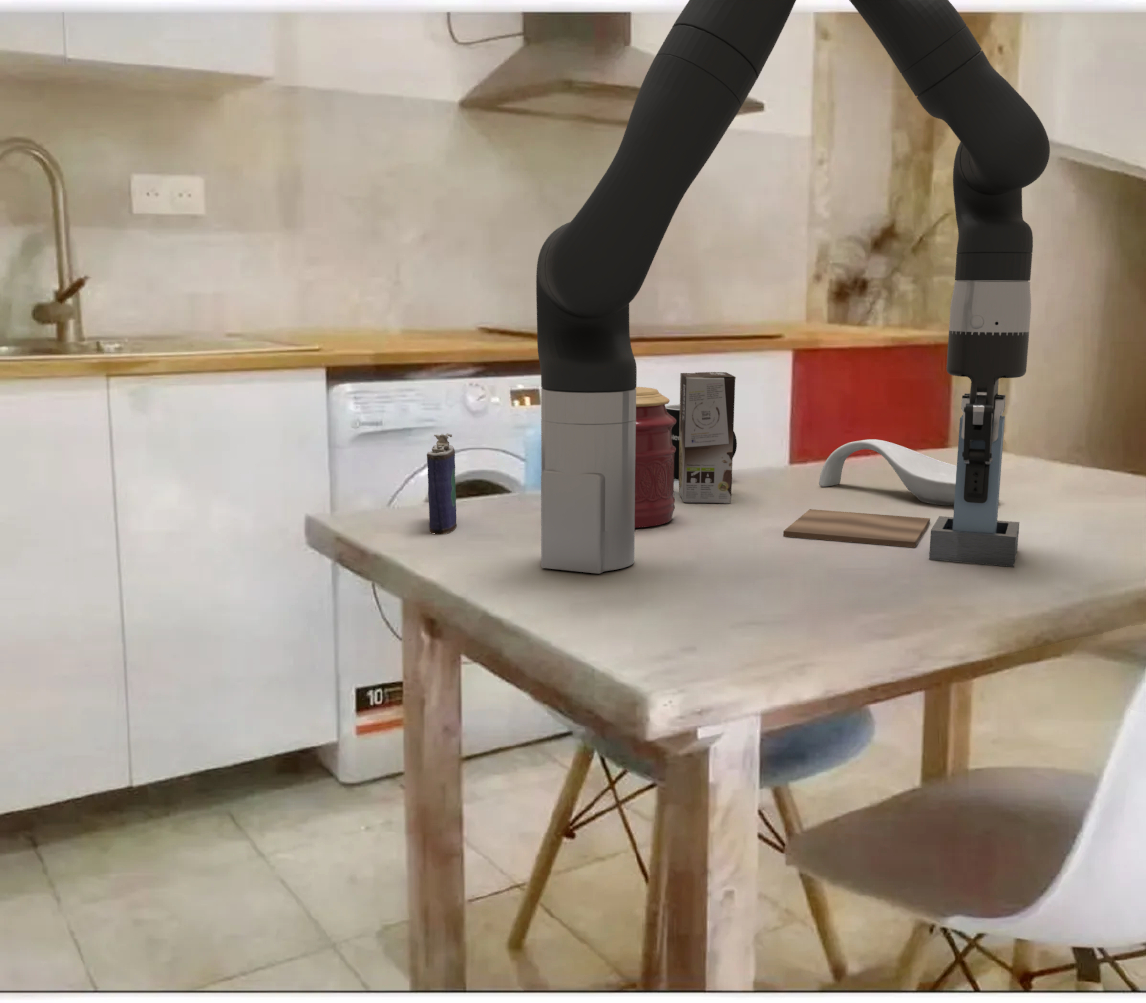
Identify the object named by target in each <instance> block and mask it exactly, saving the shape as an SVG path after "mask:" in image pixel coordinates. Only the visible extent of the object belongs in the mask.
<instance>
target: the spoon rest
mask: <svg viewBox="0 0 1146 1003" xmlns="http://www.w3.org/2000/svg"><path fill="white" fill-rule="evenodd" d="M861 450H870V451H874V452H876V453H878V454H879V455H880V456H881V457H883V458H884V459H885V460H886V462H888V464H889V465H890V466H891V468H892V469H893V470H894V471H895V473H896V474H897V476H898V477H899V479H900V481H901V482H902V484H903V485H904V486H905V488H907V490H908V491H909V492H910V493H911V494H912V495H913V496H915V497H916V498H917V499H918V501H920V502H922V503H926V504H931V505H938V506H939V505H940V506H941V505H942V506H954V500H955V485H956V470H957V464H952V463H949V462H945V461H943V460H938V459H936V458H933V457H931V456H928V455H926V454H923V453H921V452H918V451H916V450H914V449H910V448H907V447H906V446H903V445H899V444H896V443H894V442H891V441H890V442H889V441H886V440H882V439H875V438H874V439H872V438H871V439H869V438H868V439H862V440H856V441H851V442H847V443H845V444H843V445H841V446H839V447H838V448H836V449H835V450H834V451H832V453H830V454H829V456H828V457H827V459H826V460H825V462H824V464H823V465H822V469H821V472H820V475H819V480H818V486H819V487H823V488H825V487H832V486H837V485H839V484H840V483H841V479H842V474H843V470H844V469H843V467H844V464H845V462H846V460H847V458H849V457H850V455H852V454H853V453H855V452H858V451H861Z"/></svg>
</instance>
